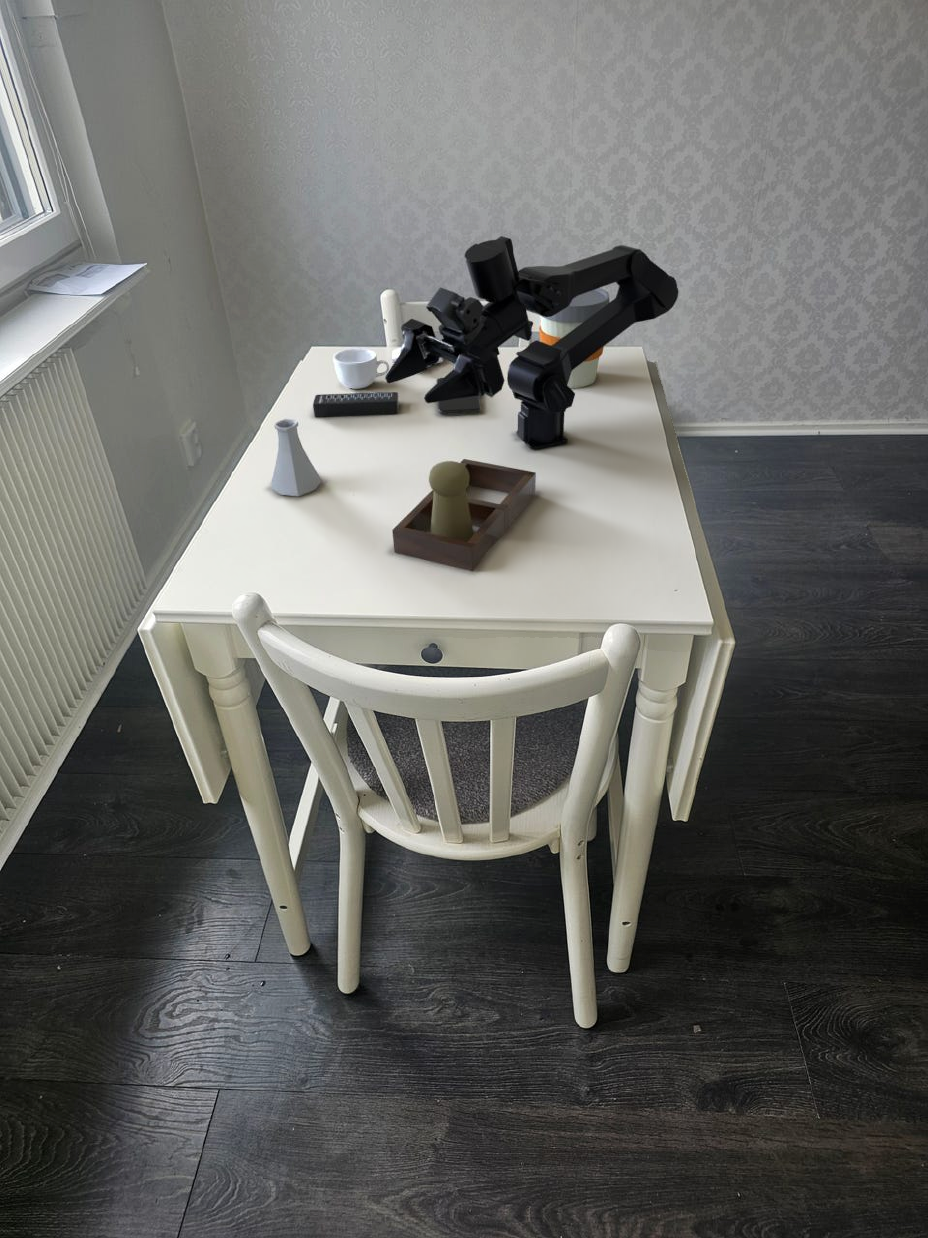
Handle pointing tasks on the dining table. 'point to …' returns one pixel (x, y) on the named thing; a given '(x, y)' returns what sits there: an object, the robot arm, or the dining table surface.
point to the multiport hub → (356, 404)
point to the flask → (292, 463)
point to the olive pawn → (450, 501)
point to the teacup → (357, 367)
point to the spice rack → (483, 514)
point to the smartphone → (459, 405)
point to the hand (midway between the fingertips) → (405, 389)
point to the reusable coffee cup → (569, 320)
